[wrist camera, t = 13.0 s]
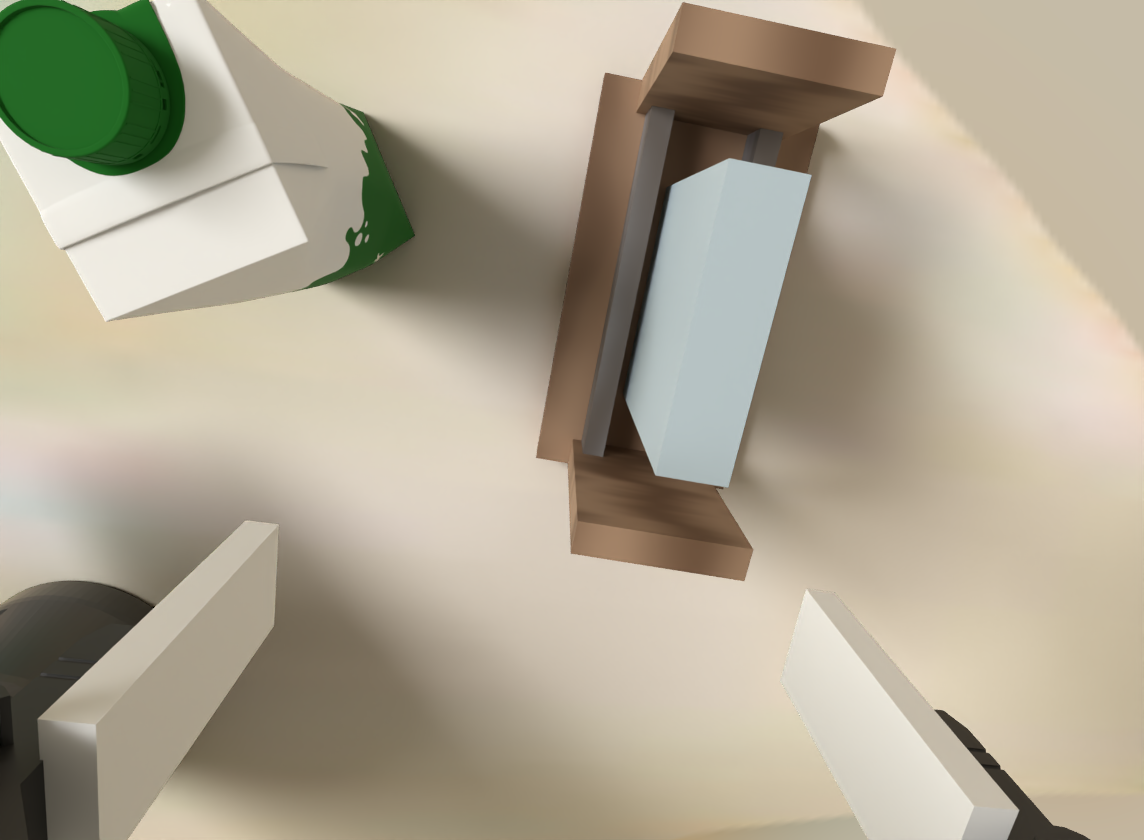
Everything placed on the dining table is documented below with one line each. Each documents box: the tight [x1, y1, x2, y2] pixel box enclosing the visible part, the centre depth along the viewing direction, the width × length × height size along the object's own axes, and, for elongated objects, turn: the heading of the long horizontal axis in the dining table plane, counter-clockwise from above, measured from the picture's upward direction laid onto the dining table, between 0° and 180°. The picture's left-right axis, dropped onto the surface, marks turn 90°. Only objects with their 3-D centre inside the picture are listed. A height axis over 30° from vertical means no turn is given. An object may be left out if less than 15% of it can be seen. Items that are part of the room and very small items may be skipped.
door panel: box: [623, 158, 812, 488], centre depth 31 cm, size 3×12×14 cm, turn 170°
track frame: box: [536, 2, 896, 581], centre depth 33 cm, size 12×22×14 cm, turn 170°
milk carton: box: [0, 0, 415, 322], centre depth 28 cm, size 9×9×20 cm
